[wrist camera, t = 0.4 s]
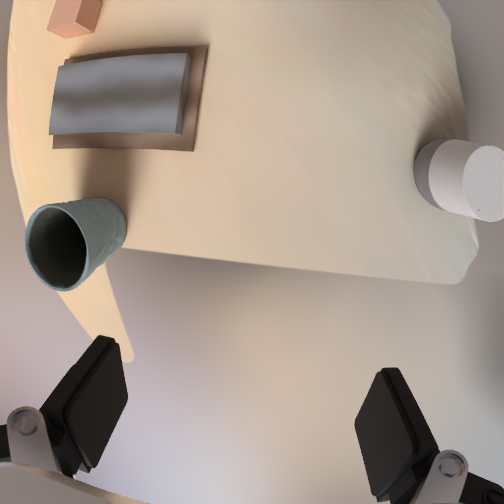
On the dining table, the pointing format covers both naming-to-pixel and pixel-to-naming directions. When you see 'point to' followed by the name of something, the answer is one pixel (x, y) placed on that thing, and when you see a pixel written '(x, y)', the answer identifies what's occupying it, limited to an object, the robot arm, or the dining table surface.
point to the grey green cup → (73, 240)
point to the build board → (129, 99)
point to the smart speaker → (462, 178)
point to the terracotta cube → (74, 17)
